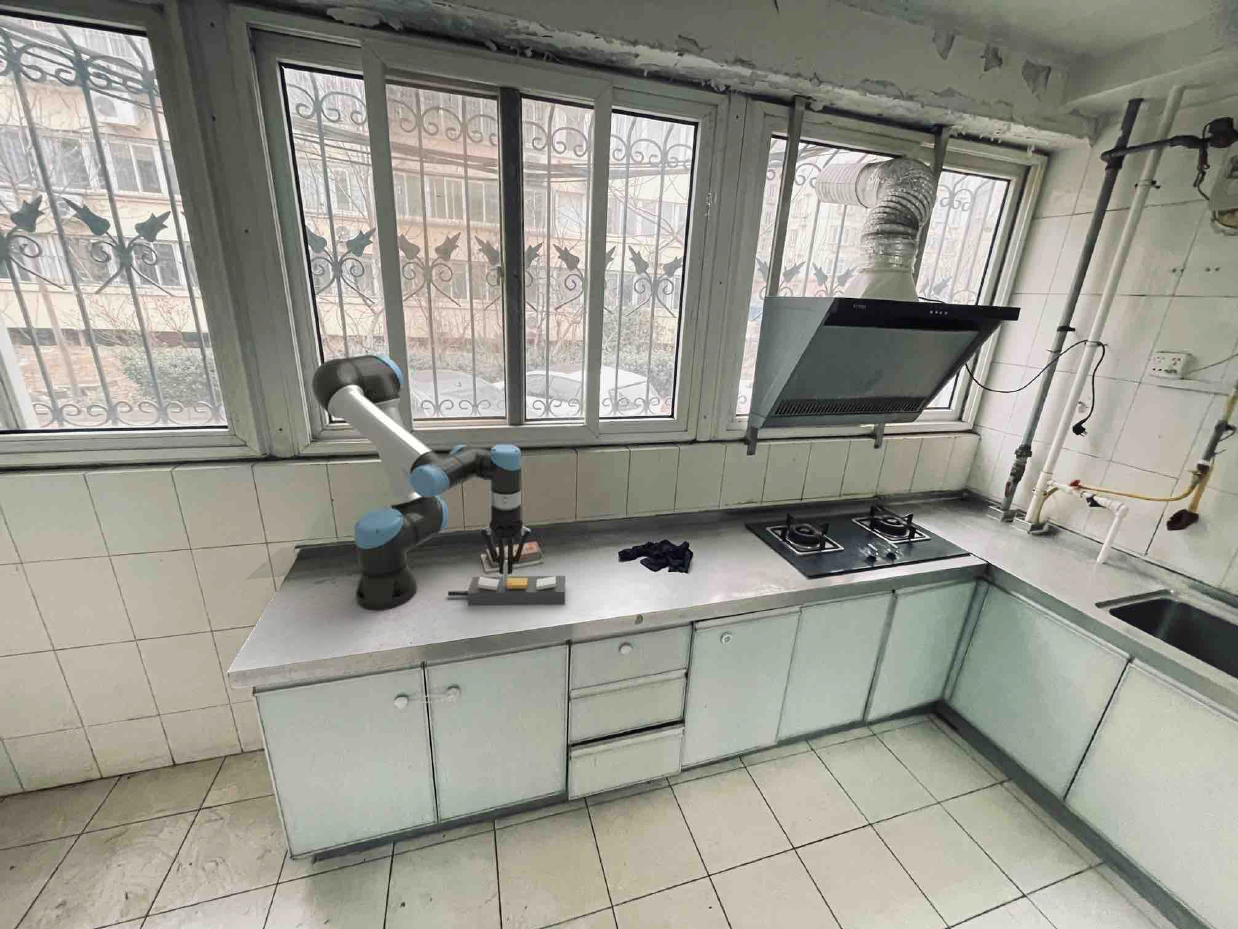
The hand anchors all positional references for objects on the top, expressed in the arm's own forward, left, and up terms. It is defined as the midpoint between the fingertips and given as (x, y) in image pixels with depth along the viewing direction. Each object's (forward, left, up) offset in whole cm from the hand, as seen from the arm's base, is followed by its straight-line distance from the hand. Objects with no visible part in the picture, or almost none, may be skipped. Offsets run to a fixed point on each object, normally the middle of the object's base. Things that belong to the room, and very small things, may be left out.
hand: (506, 583), depth 134 cm
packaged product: (-1, +21, -6) cm, 22 cm away
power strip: (0, +2, -5) cm, 6 cm away
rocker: (+11, 0, -1) cm, 11 cm away
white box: (-5, 0, -1) cm, 5 cm away
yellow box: (+3, 0, -1) cm, 3 cm away
